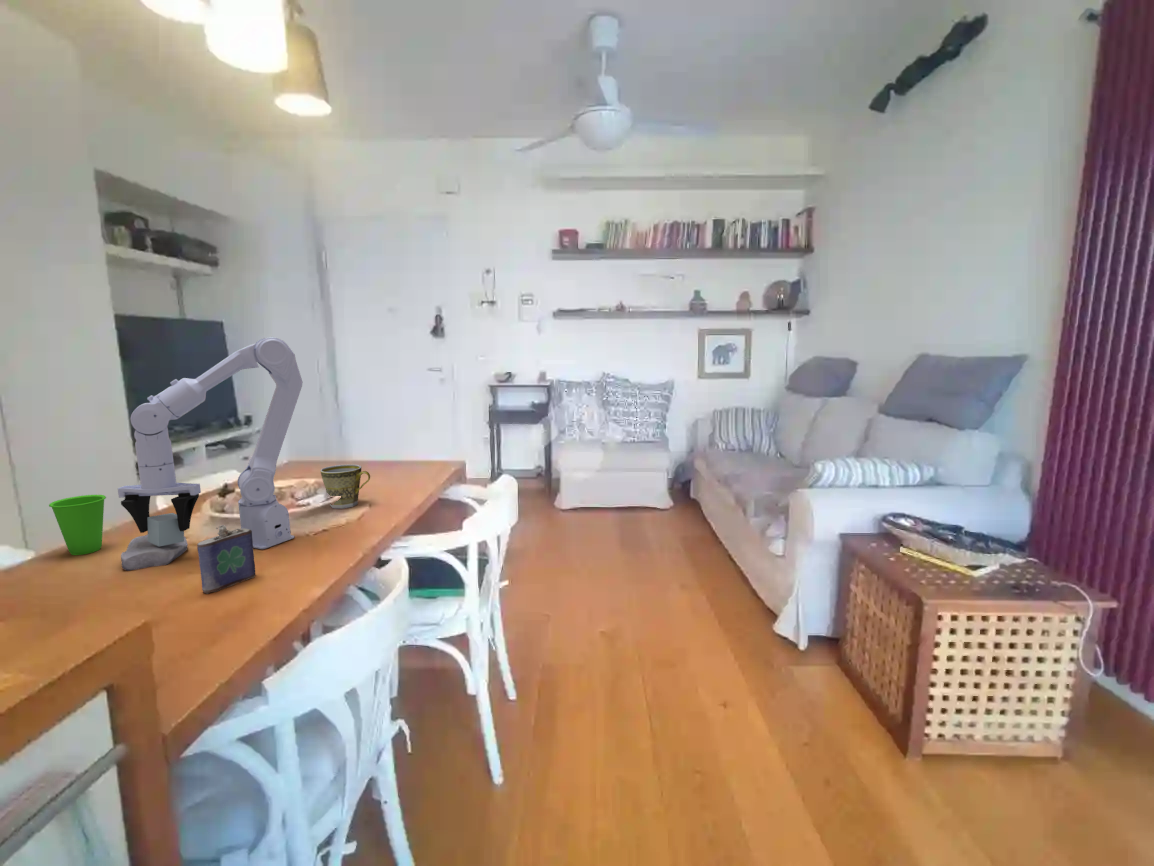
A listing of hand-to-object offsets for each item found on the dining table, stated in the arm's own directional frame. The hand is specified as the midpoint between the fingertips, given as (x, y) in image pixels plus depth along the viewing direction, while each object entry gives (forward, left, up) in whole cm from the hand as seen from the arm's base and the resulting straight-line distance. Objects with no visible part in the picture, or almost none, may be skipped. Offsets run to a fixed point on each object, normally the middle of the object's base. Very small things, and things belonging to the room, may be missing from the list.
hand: (165, 530), depth 116 cm
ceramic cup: (-6, -42, -6) cm, 43 cm away
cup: (+21, +4, -6) cm, 22 cm away
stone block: (+2, +1, -6) cm, 7 cm away
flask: (-24, +4, -6) cm, 25 cm away
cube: (0, 0, -2) cm, 2 cm away
